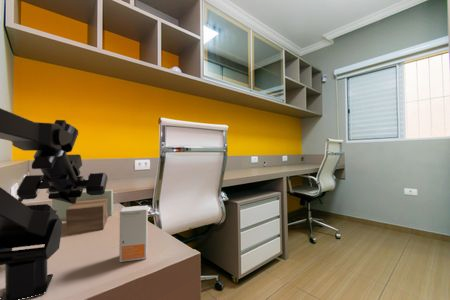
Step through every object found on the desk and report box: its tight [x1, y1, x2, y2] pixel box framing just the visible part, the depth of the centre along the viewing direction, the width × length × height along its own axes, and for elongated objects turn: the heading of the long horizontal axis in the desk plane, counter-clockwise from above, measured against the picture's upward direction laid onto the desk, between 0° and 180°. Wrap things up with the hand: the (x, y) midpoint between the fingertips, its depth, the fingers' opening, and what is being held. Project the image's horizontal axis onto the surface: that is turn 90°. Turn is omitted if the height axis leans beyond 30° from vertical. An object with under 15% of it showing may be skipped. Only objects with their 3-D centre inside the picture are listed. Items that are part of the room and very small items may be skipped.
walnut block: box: [65, 198, 109, 236], centre depth 74 cm, size 14×10×8 cm
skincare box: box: [119, 205, 149, 263], centre depth 52 cm, size 6×4×12 cm
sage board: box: [51, 189, 114, 221], centre depth 84 cm, size 3×20×10 cm, turn 107°
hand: (74, 202), depth 61 cm, fingers closed
